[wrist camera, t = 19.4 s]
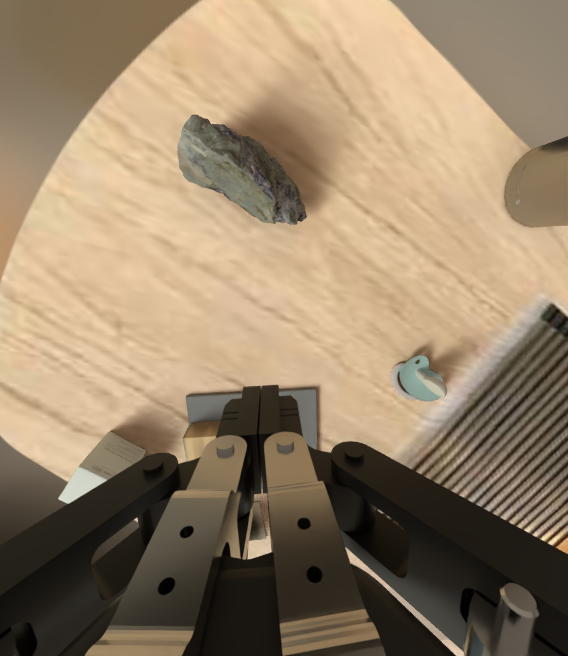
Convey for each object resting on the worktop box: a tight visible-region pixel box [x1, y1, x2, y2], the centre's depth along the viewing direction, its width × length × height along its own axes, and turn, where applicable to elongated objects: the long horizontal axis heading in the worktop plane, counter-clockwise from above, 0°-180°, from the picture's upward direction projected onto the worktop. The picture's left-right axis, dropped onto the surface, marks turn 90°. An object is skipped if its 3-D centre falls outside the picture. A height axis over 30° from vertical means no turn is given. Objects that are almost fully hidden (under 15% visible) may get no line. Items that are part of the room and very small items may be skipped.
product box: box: [59, 432, 146, 504], centre depth 41 cm, size 6×6×7 cm
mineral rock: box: [178, 115, 307, 225], centre depth 31 cm, size 13×11×10 cm
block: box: [183, 421, 220, 461], centre depth 42 cm, size 4×8×11 cm
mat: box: [186, 388, 317, 488], centre depth 44 cm, size 18×16×1 cm
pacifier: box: [390, 355, 447, 401], centre depth 40 cm, size 7×6×6 cm
